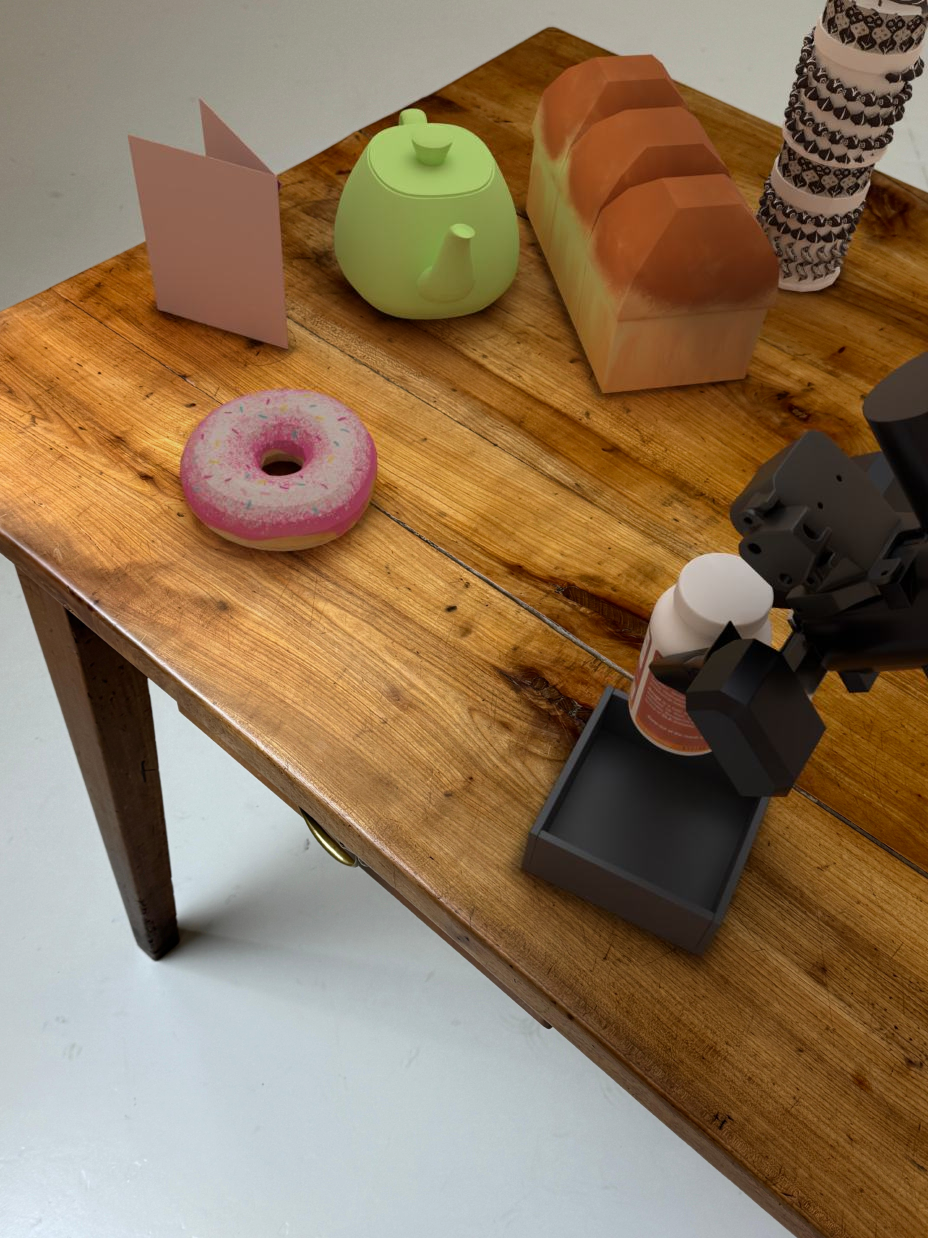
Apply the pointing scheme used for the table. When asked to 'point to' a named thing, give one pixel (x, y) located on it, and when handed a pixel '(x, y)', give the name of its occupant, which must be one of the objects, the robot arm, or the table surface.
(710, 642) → the pill bottle
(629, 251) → the bread
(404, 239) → the teapot
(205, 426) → the donut
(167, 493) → the table surface
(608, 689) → the bin
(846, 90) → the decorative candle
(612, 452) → the table surface
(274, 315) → the greeting card
